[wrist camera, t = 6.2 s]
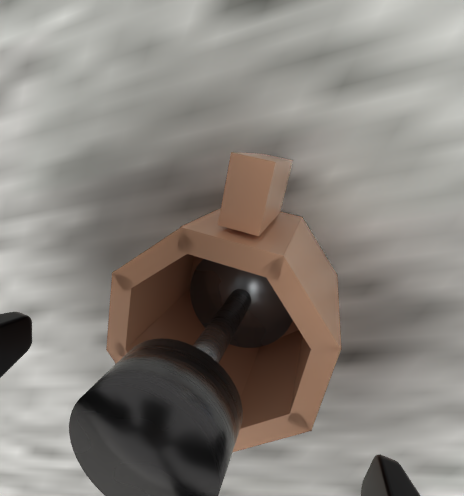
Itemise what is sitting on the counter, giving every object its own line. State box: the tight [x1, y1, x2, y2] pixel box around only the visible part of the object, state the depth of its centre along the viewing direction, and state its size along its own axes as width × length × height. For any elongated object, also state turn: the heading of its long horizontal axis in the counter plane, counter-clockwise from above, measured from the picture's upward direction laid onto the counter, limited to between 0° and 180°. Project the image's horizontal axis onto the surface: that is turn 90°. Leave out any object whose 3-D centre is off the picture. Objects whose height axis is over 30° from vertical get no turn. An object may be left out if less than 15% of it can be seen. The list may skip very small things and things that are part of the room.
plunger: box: [69, 259, 293, 496], centre depth 10 cm, size 4×4×8 cm
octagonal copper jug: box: [106, 152, 341, 453], centre depth 12 cm, size 7×9×6 cm
